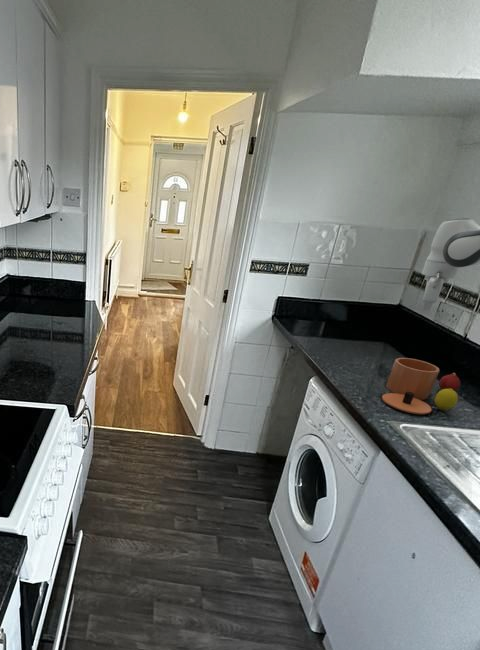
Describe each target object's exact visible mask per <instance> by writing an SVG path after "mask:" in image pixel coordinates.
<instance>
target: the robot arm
mask: <svg viewBox="0 0 480 650" xmlns="http://www.w3.org/2000/svg"><path fill="white" fill-rule="evenodd" d="M470 266H480V225H479V224H478V223H477V222H476V221H475V220H474V219H472V218H470V217H469V218H468V217H467V218H465V217H463V218H451V219H447V220H445V221H443V222H442V223H441V224H440V225H439V227H438V229H437V231H436V233H435V235H434V237H433V239H432V243H431V246H430V252H429V254H428V256H427V257H426V259H425V262H424V265H423V268H422V271H421V274H422V275H423V276H425V277H424V281H426V284H425V289H424V294H423V296H422V302H423V306H422V310H421V314H422V315H424V316H427V315H428V314H429V313H430V310H431V308H432V306H433V304H436V303H437V302H438V299H439V297H440V295H441V291H442V288H443V286H444V283H449V281H450V279H454V278H456V276H457V274H458V271H459V268H465V267H470Z"/></svg>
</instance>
